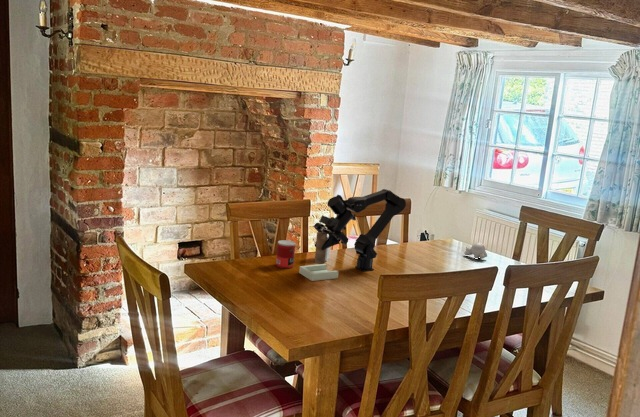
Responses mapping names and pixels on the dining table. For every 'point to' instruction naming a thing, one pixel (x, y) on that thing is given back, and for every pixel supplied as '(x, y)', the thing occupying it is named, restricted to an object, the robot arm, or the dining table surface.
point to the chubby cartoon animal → (476, 250)
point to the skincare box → (327, 252)
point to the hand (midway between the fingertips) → (318, 248)
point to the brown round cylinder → (320, 253)
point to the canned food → (285, 254)
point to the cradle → (317, 272)
